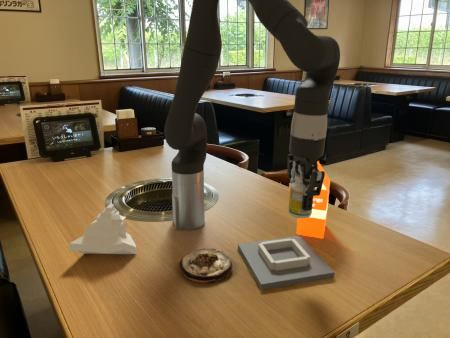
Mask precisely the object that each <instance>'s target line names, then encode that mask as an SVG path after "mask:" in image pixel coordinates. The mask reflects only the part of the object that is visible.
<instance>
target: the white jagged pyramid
mask: <svg viewBox="0 0 450 338" xmlns="http://www.w3.org/2000/svg"><path fill="white" fill-rule="evenodd" d="M125 219H126V216H124V215H121V214H120V210H118V209H116V206H115V204H114V203H112V202H110V203H108V205H107V206H106V207H105V208H104V210H102V211H101V212H99V213H98V215H97V216H96V219H95V220H94V221H92V222H91V223H90V224H88V226H87V227H86V228H85V229H84V233H83V235H81V236H80V237H78V238H77V239H74V240H73V241H70V243H69V246H68V247H69V248H68V251H71V252H74V253H75V252H76V253H79V254H85V255H89V254H91V255H92V254H93V255H137V250H138V248H137V245H136V243H135V241H134V240H133V238H132V235H131V234H129V233H128V232H127V228H128V227H127V226H128V225H127V224H126V223H125V224H124V222H125Z"/></svg>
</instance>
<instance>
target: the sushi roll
mask: <svg viewBox="0 0 450 338" xmlns="http://www.w3.org/2000/svg"><path fill="white" fill-rule="evenodd" d="M179 265H180V266H179V267H180V270H181V273H182V276H183V277H184V278H186V280H188V281H190V282H193V283H198V284H204V283H208V284H210V283H216V282H218V281H220V280H222V279H225V280H228V279H227V278H228V277H229V276H230V275H231V273H232V270H233V263H232V261H231V259H230V256H229V255H228V254H226V252H224V251H223V250H222V251H220V250H217V248H201V249H196V250H193V251H192V252H191V251H190V252H188V253H187V254H185V255H183V257H182V258H181V260H180V262H179Z"/></svg>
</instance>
